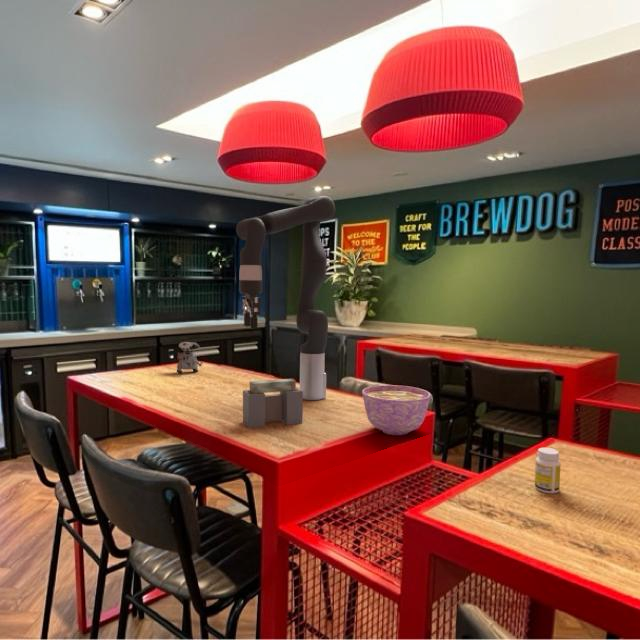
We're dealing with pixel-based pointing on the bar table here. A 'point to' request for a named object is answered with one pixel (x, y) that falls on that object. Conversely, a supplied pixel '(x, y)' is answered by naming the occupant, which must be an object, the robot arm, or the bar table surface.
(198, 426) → the bar table surface
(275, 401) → the grey hollow block
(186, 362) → the figurine
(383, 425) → the bowl of food
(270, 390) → the rail
